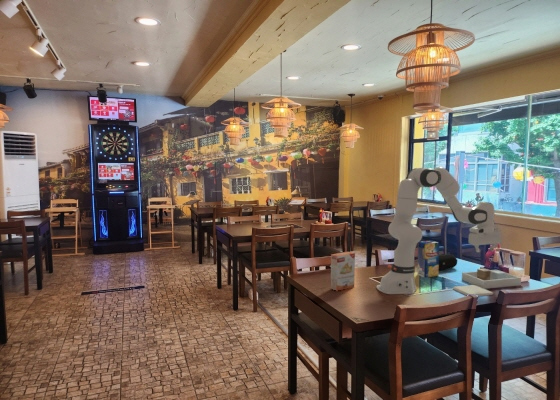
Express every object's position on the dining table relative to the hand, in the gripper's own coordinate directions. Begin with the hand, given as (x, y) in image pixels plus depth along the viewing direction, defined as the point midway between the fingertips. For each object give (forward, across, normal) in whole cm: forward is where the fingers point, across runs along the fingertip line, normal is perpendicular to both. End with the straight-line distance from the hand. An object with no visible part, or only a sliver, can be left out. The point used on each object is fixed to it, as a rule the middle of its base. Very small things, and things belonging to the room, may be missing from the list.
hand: (484, 251), depth 214 cm
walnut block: (+19, 0, 0) cm, 19 cm away
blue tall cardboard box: (+20, +21, -24) cm, 38 cm away
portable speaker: (+20, +6, -34) cm, 40 cm away
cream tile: (+20, +17, +11) cm, 28 cm away
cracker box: (+19, +85, -13) cm, 88 cm away
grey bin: (+20, -5, 0) cm, 20 cm away
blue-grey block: (+19, -10, 0) cm, 22 cm away
